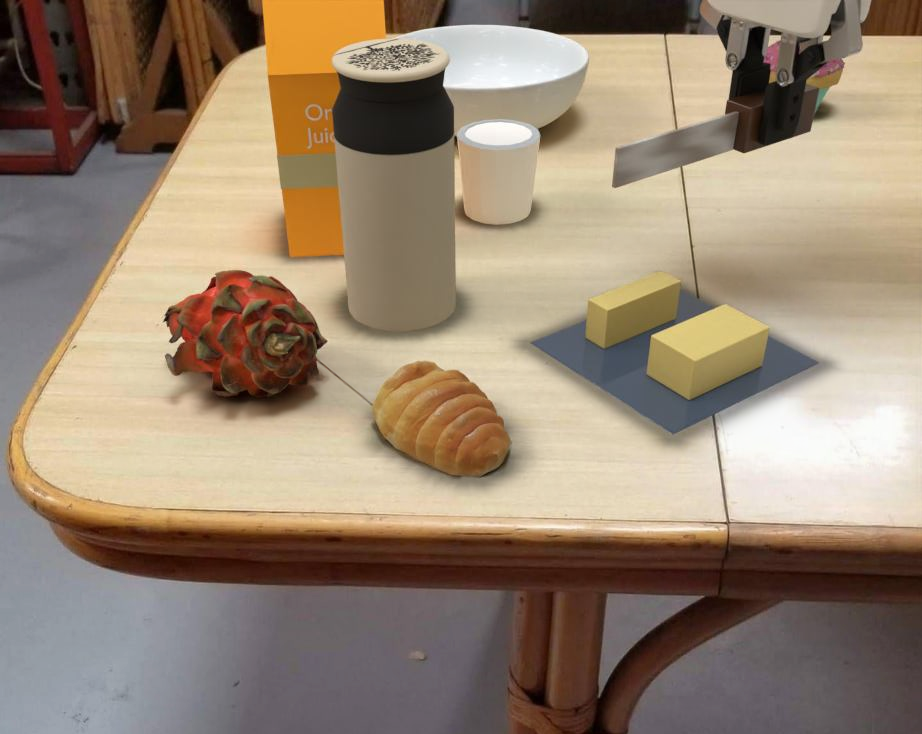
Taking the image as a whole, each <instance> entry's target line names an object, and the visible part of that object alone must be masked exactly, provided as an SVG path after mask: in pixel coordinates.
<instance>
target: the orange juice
mask: <svg viewBox="0 0 922 734" xmlns="http://www.w3.org/2000/svg"><path fill="white" fill-rule="evenodd" d="M261 1H262V2H261V3H262V14H263V15H262V16H263V29H264V41H265V54H266V67H267V71H266V73H267V81H268V89H269V90H268V91H269V97H270V104H271V114H272V123H273V130H274V138H275V146H276V159H277V167H278V169H277V170H278V176H279V184H280V190H281V196H282V202H283V203H282V205H283V212H284V221H285V228H286V236H287V237H286V238H287V244H288V252H289V258H301V257H325V256H326V257H327V256H344V247H343V235H342V223H341V212H340V200H339V188H338V176H337V164H336V152H335V140H334V128H333V116H332V108H333V106H334V104H335V101H336V99H337V96H338V94H339V91H340V89H341V87H340V82H339V77H338V73H337V71H336V70H335V69H334V67H333V65H332V57H333V55H334V54H335V53H336V52H337V51H338V50H340V49H342V48H344V47H346V46H348V45H351V44H355V43H358V42H363V41H369V40H376V39H387V32H386V31H387V29H386V16H385V15H386V14H385V0H261Z"/></svg>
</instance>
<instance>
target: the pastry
mask: <svg viewBox="0 0 922 734" xmlns="http://www.w3.org/2000/svg"><path fill="white" fill-rule="evenodd" d="M378 390H379V391H378V393H377V395H376V396H375V398H374V401H373V403H372V404H371V405H372V406H371V412H372V416H373V419H374V421H375V423H376V425H377V427H378V429H379V432H380V433H381V435H382V437H383V439H384V440H387V441H388V442H389V443H390V444H391V446H392V447H393V448H394V449H396V450H398V451H401V452H403V453H405V454H406V455H408V456H409V457H411V458H413V459H414V460H416V461H418V462H421V463H423V464H426V465H428V466H430V467H432V468H434V469H436V470H439V471H440V472H443V473H445V474H447V475H450V476H458V477H461V476H465V477H470V478H471V477H473V478H479V477H480V478H481V477H482V476H484V475H485V474H487V473H490V472H492V471H494V470H496V469H498V468H500V466H501V465H502V464H503V462H504V460H505V458H506V457H507V454H508V452H509V449H510V447H511V445H512V440H511V438H510V435H509V434H508V432H507V431H506V428H505V421H504V419H503V417H502V416H500V415H498V413H497V410H496V407H495V405H494V403H493V401H492V400H490V399H488V396H487V394H486V393H485V392H484V391H482V389H480V387H479V386H478V384H477V383H475V382H474V381H471V380H470V379H469V377H468V376H466V375H465V373H462V372H461V371H460V370H458V369H447V370H445V369H443V368H441V367H440V366H438V365H437V363H436V362H434V361H429V360H422V361H421V360H418V361H415V362H411V363H408V364H406V365H403V366H402V367H400V368H398V369H397V371H396V372H395V373H394V374H393V375H392V376H390V377H389V378H387V379H386V380H385V381H384V383H383V384H382V385H381V387H380V388H379V389H378Z"/></svg>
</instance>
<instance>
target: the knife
mask: <svg viewBox="0 0 922 734" xmlns="http://www.w3.org/2000/svg"><path fill="white" fill-rule="evenodd" d="M818 94H819V88H818V87H815V86H812V85H809V84H806V86H805V92H804V97H803V102H802V108H801V113H800V118H799V123H798V125H797V127H796V131H795V134H794V135H793V136H792V137H791V138H788V139H785V140H782V141H780V142H784V141H786V140H790V139H792V138H795V137H798V136H801V135H805V134H808V133H810V132H812V127H813V122H814V117H815V114H816V113H815V108H816V103H817V98H818ZM764 95H765V89H763V90H759V91H756V92H753V93H749V94H746V95H742V96H739V97H735V98H732V99H729V98H728V99H727V100H726V104H725V110H724V114H722V115H719V116H715V117H713V118H709V119H706V120H702V121H699V122H696V123H692V124H688V125H686V126H683V127H679V128H675V129H671V130H669V131H665V132H663V133H659V134H656V135H653V136H652V135H651V136H649V137H645V138H643V139H640V140H636V141H633V142H630V143H626V144H622V145H619V146H617V147H615V150H614V161H613V172H612V181H611V187H612V188H613V189H617V188H620V187H623V186H626V185H630V184H633V183H636V182H638V181H642V180H645V179H648V178H650V177H653V176H657V175H660V174H663V173H666V172H669V171H672V170H676V169H679V168H681V167H685V166H688V165H691V164H694V163H697V162H700V161H704V160H707V159H711V158H712V157H715V156H719V155H722V154H726V153H728V152H731V151H735V152H739V153H741V154H748V153H750V152H754V151H757V150H760V149H762V148H765V147H766V146H765V145H762V144H759V140H758V137H759V131H760V125H761V119H762V113H763V107H764V106H763V102H764ZM814 113H815V114H814ZM780 142H779V143H780Z"/></svg>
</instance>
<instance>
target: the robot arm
mask: <svg viewBox="0 0 922 734" xmlns="http://www.w3.org/2000/svg"><path fill="white" fill-rule="evenodd" d="M871 3H872V0H702V1H701V3H700V5H699V13H700V15H701V17H702V18H703V19H704V20H705V21H706V22H707V23H708V25H710V26H711V27H712V28H713V29H714V31H717V35H718V37H719V40H720V41H721V44H722V46H723V48H724V50H725V52H726V53H725V59H724V61H725V66H726V67H727V69H728V70H730V71H731V78H730V87H729V94H728V100H729V99H732V98H735V97H739V96H742V95H746V94H749V93H753V92H756V91H759V90H763V89H765V95H764V102H763V106H764V107H763V113H762V119H761V125H760V131H759V137H758V140H759V144H762V145H765V147H768V146H771V145H774V144H777V143H780V141H781V142H783V141H782V140H784V141H786V140H785V139H787V140H789V139H788V138H790V139H792V138H791V137H792V136H793V135H794V134H795V131H796V127H797V125H798V123H799V118H800V113H801V108H802V102H803V97H804V92H805V86H806V81H807V79H808V78H811V77H814V76H815V75H816V73H817V71H818V70H819V69H821V68H822V67H823V66H824V65H826V64H827V63H828V62H830V61H834V60H838V59H842V60H843V59H846V58H849V57H852V56H854V55H858V54H859V53H861V51H862V50H863V44H864V43H863V36H862V27H861V24H862V23H863V22H865V20H866V19H867V17H868V14H869V12H870V9H871V8H870V7H871ZM829 26H830V31H831V33H830V37H829V38H828V39H827V40H824V34H825V33H826V32H827V31H828V29H829ZM771 30H773V31H775V32H779V33H781V34H780V40H779V41H780V47H779V54H778V60H777V67H776V74H775V79H776V81H775V82H771V83H769V79H770V73H771V69H770V66H771V64H769V63H766V62H764V59H765V57H766V54H767V48H768V46H769V41H770V36H771ZM823 41H824V42H823ZM800 43H802V44H801V50H800ZM799 51H800V54H799ZM763 62H764V63H763Z"/></svg>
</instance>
